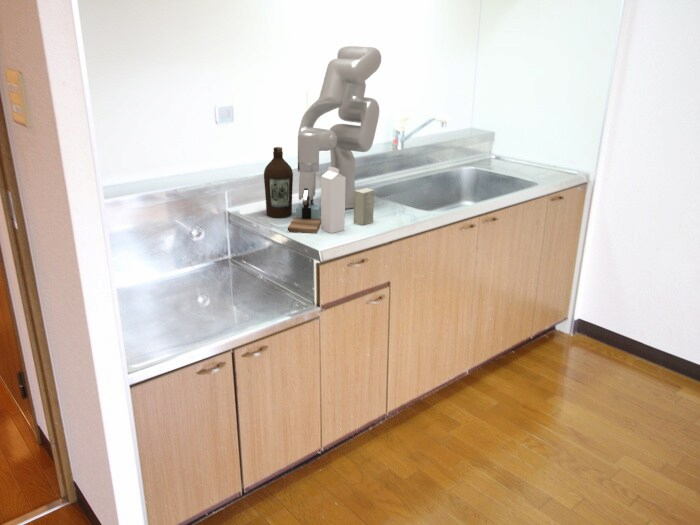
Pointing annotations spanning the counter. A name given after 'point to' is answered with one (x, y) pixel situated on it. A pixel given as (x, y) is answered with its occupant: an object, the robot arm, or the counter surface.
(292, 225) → the board
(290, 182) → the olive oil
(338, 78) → the robot arm
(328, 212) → the milk
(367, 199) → the skincare box
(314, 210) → the brick
